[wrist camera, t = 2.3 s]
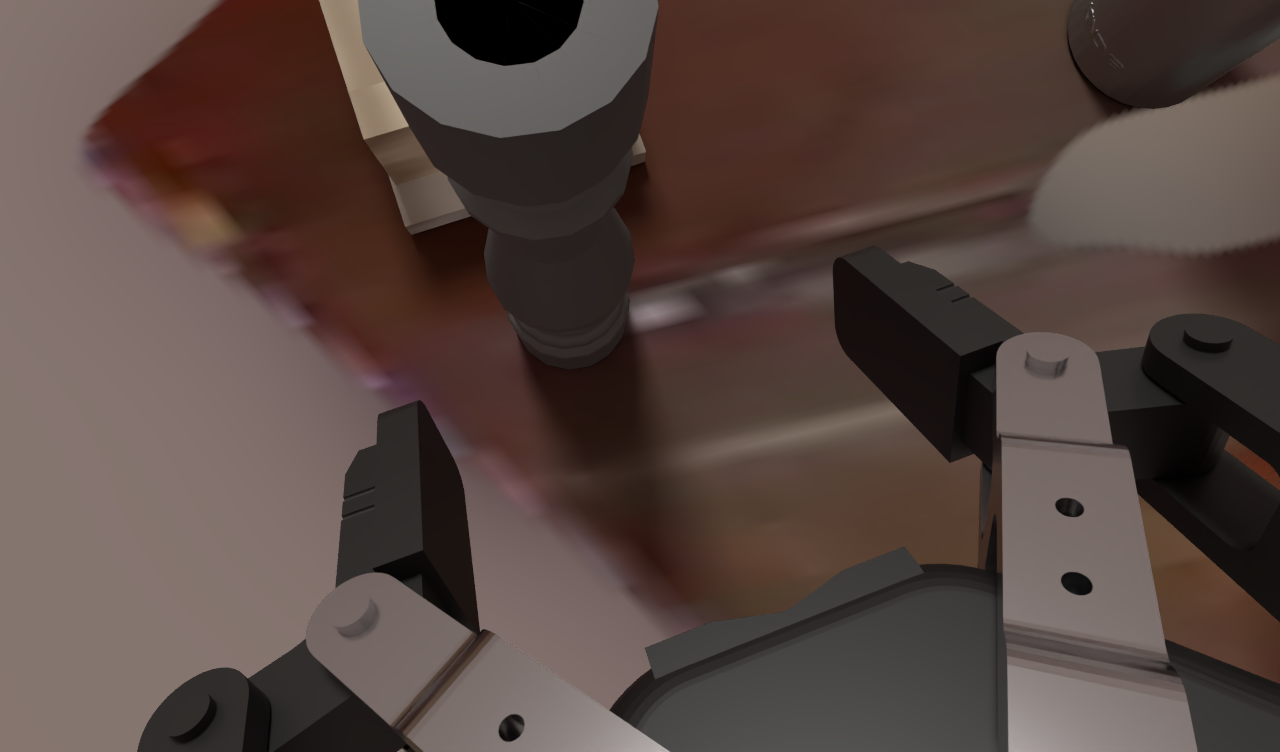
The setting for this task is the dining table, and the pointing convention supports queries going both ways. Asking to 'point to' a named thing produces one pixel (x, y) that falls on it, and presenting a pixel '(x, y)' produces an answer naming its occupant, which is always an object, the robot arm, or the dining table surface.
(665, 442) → the dining table surface
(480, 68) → the candle holder
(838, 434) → the dining table surface
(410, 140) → the socket
